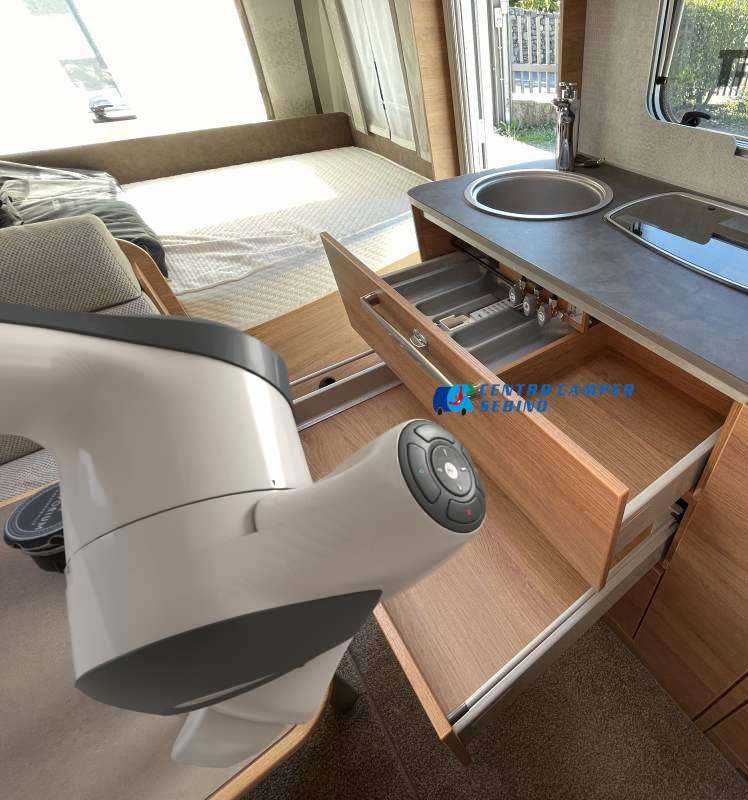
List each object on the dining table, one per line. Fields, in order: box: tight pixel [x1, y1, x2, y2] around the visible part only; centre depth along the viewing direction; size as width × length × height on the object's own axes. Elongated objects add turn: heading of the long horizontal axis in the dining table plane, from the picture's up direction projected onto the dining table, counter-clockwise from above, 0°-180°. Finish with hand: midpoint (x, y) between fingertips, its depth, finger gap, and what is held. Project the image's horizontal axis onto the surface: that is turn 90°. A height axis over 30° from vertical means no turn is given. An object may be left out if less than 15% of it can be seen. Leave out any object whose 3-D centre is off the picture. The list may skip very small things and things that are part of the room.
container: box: [2, 481, 67, 575], centre depth 67 cm, size 13×13×10 cm
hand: (242, 626), depth 38 cm, fingers open, 8 cm apart
